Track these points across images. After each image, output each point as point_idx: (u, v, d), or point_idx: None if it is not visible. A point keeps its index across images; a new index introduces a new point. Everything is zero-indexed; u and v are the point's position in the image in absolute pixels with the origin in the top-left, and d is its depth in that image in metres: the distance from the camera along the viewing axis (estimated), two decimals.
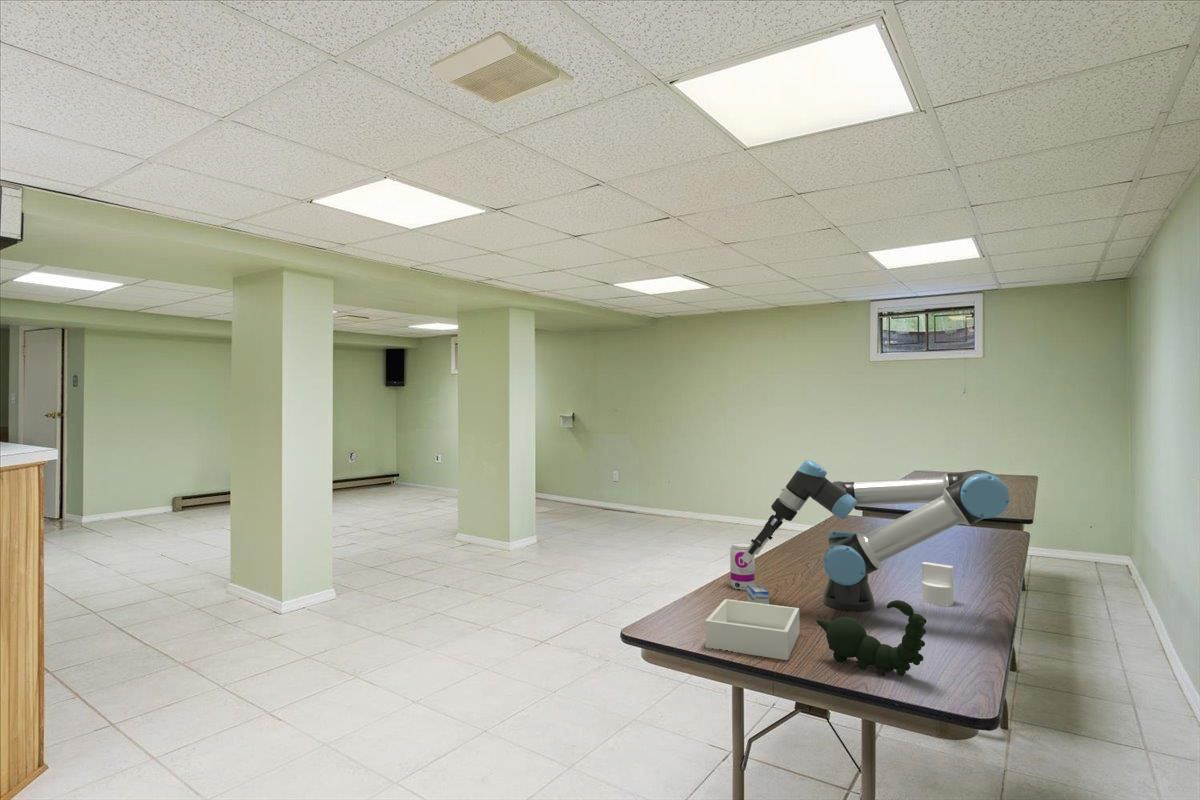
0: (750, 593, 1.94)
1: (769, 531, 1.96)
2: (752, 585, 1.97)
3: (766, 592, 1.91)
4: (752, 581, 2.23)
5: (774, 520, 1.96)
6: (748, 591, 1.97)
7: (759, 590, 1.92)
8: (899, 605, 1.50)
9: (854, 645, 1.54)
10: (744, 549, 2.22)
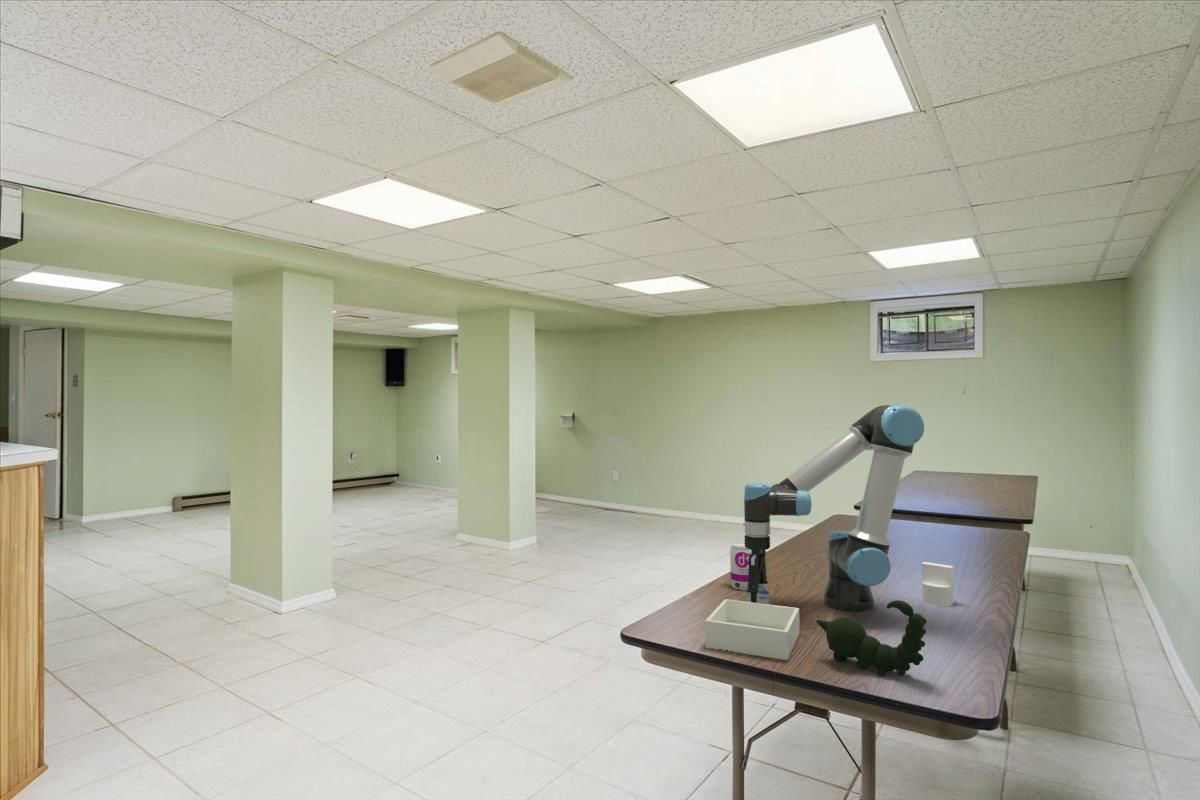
0: None
1: (755, 572, 1.88)
2: None
3: (766, 592, 1.91)
4: None
5: (752, 559, 1.89)
6: None
7: (759, 590, 1.92)
8: (899, 605, 1.50)
9: (854, 646, 1.54)
10: (744, 549, 2.22)
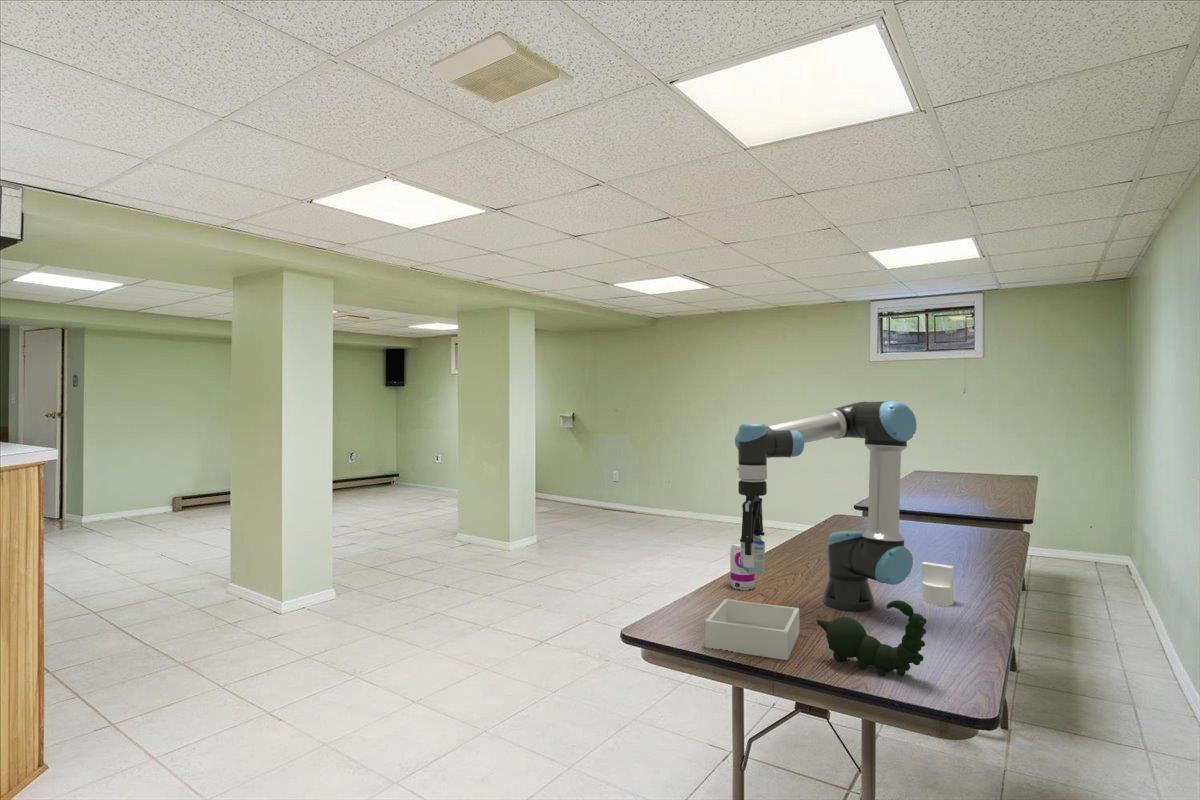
0: None
1: (749, 519, 1.69)
2: (746, 536, 1.78)
3: (761, 542, 1.72)
4: (752, 581, 2.23)
5: (746, 505, 1.70)
6: (742, 542, 1.78)
7: (754, 540, 1.73)
8: (899, 605, 1.50)
9: (854, 645, 1.54)
10: None
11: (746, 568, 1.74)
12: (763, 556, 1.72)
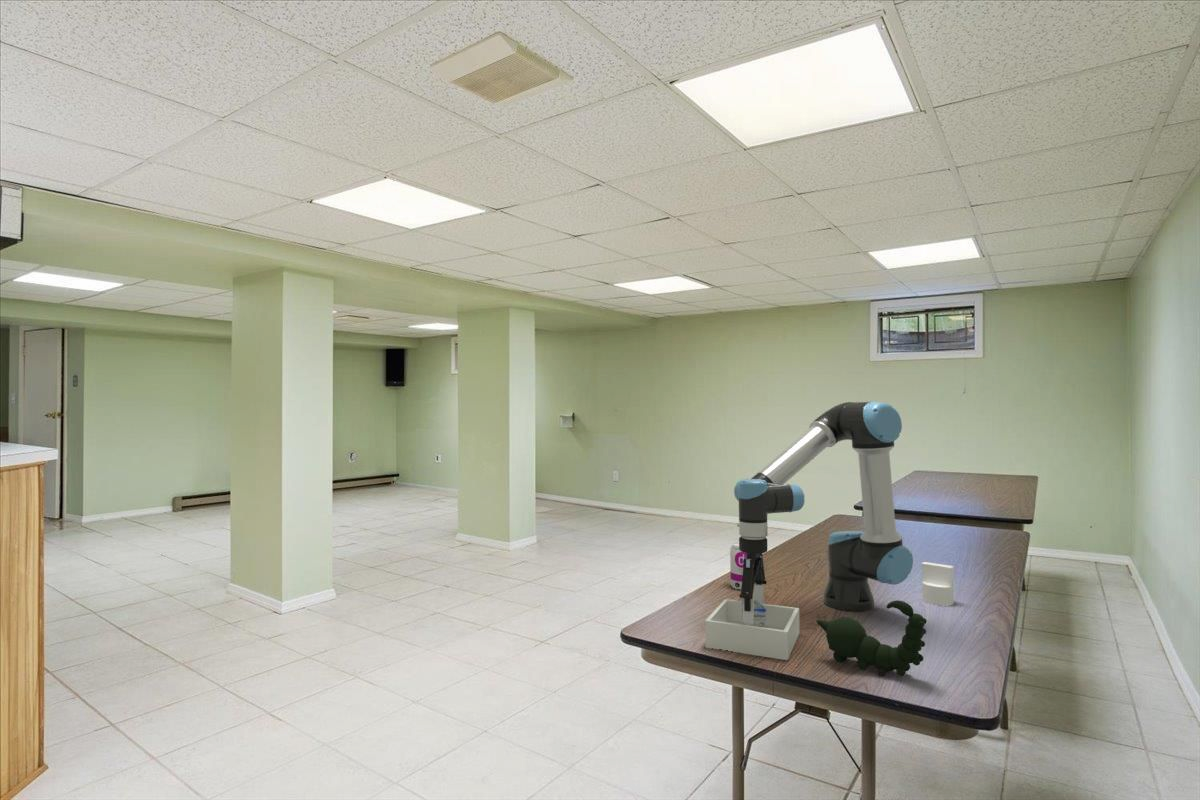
0: None
1: (750, 575, 1.68)
2: None
3: (763, 609, 1.71)
4: None
5: (747, 561, 1.69)
6: None
7: (755, 607, 1.72)
8: (899, 605, 1.50)
9: (854, 646, 1.54)
10: None
11: None
12: (765, 623, 1.71)
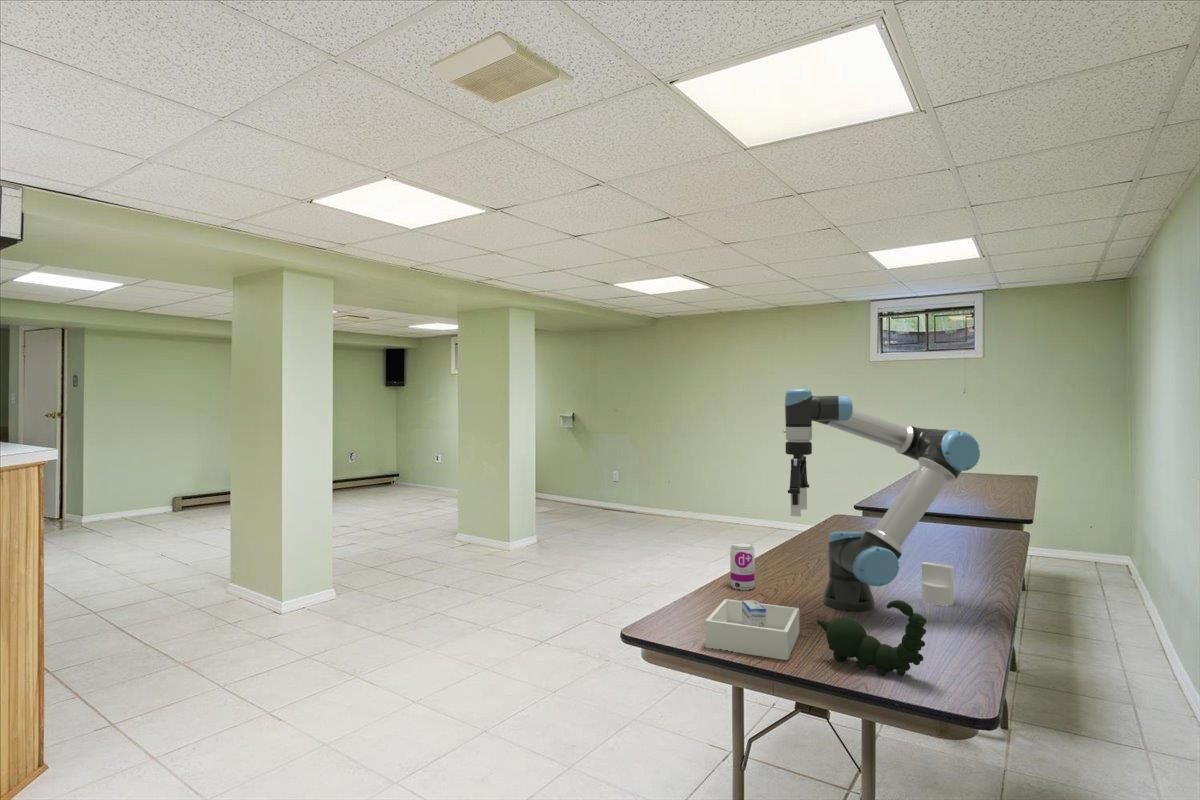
0: (745, 611, 1.75)
1: (797, 472, 1.84)
2: (748, 601, 1.78)
3: (763, 609, 1.71)
4: (752, 581, 2.23)
5: (795, 460, 1.86)
6: (743, 608, 1.77)
7: (755, 607, 1.72)
8: (899, 605, 1.50)
9: (854, 645, 1.54)
10: (744, 549, 2.22)
11: None
12: (765, 623, 1.71)
